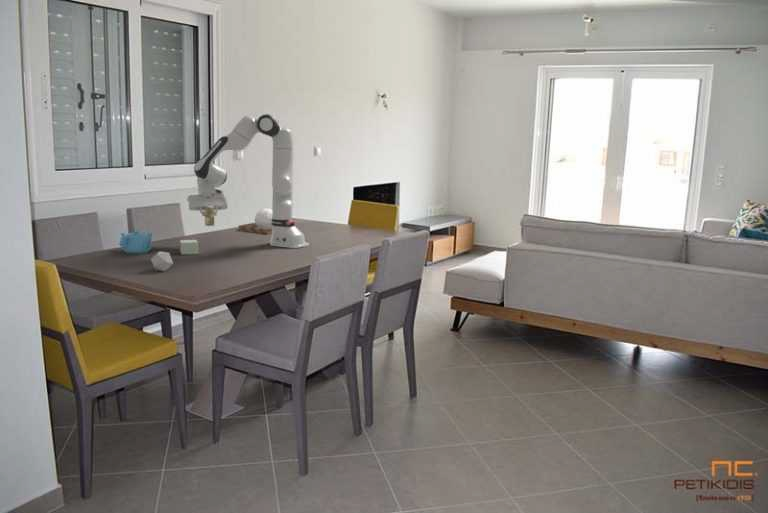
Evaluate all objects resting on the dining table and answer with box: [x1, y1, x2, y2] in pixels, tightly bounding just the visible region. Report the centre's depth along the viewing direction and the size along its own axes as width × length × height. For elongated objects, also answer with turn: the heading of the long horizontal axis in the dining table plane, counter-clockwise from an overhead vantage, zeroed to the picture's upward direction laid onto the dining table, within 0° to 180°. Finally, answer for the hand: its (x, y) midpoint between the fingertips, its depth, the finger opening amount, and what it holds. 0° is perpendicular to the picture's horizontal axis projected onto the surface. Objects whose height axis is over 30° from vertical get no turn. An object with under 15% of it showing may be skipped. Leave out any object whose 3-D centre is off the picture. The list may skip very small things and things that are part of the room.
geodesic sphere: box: [254, 207, 272, 229], centre depth 406 cm, size 15×14×14 cm
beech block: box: [203, 206, 215, 227], centre depth 346 cm, size 4×4×10 cm
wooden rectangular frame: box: [237, 222, 272, 235], centre depth 406 cm, size 24×24×3 cm
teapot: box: [119, 229, 153, 255], centre depth 328 cm, size 15×15×11 cm
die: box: [150, 251, 174, 272], centre depth 290 cm, size 8×9×10 cm
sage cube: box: [179, 239, 200, 255], centre depth 330 cm, size 8×8×6 cm
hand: (209, 215), depth 345 cm, fingers closed on beech block, 4 cm apart
